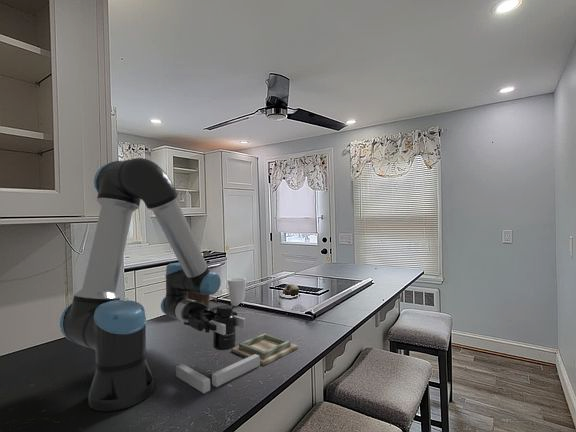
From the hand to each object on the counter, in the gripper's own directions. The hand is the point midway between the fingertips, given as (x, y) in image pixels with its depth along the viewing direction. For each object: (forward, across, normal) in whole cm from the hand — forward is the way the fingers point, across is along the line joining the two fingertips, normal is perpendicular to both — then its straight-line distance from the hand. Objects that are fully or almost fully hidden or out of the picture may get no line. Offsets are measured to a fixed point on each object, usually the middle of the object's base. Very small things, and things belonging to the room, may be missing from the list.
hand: (235, 326), depth 95 cm
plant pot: (-66, -29, -13) cm, 73 cm away
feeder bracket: (-5, +2, -14) cm, 15 cm away
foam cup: (-56, -47, -12) cm, 74 cm away
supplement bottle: (-5, 0, -7) cm, 9 cm away
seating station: (-5, -17, -13) cm, 22 cm away
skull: (-45, -76, -12) cm, 89 cm away
